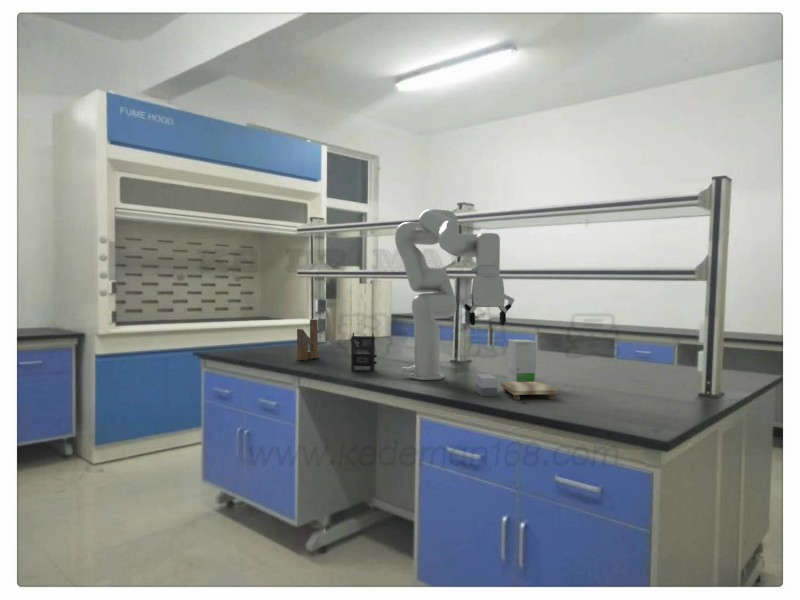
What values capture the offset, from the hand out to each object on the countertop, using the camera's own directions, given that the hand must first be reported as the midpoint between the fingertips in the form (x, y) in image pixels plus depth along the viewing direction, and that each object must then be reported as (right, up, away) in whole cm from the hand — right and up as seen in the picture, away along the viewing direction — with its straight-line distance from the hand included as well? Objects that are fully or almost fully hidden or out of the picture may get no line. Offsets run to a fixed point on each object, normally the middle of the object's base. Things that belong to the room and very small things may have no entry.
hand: (487, 324), depth 181 cm
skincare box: (+15, -22, +19) cm, 33 cm away
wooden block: (-70, -19, +73) cm, 103 cm away
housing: (0, -23, +1) cm, 23 cm away
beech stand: (+13, -23, 0) cm, 26 cm away
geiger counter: (-43, -21, +45) cm, 65 cm away
